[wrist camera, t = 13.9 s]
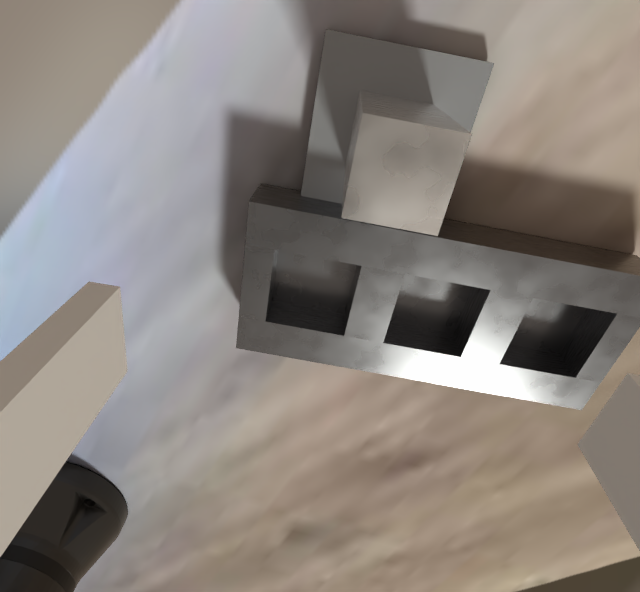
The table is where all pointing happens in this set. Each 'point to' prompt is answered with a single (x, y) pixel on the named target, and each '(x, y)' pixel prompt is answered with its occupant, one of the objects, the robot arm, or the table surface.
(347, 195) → the steel block
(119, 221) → the table surface
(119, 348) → the robot arm
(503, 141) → the table surface
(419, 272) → the grey slotted block
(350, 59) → the slate pad
